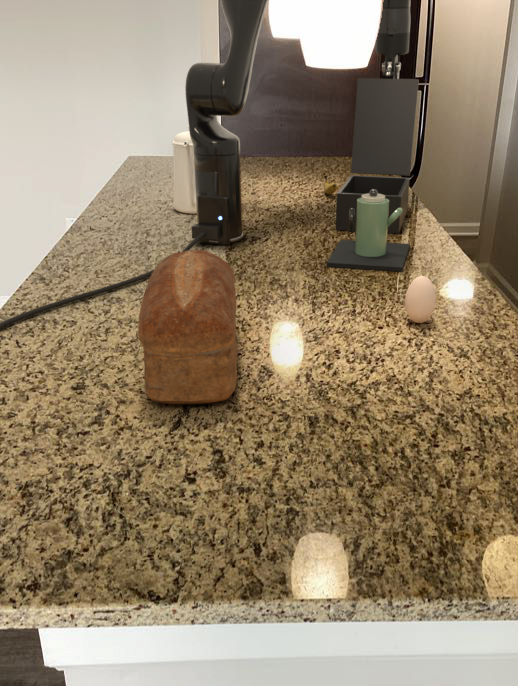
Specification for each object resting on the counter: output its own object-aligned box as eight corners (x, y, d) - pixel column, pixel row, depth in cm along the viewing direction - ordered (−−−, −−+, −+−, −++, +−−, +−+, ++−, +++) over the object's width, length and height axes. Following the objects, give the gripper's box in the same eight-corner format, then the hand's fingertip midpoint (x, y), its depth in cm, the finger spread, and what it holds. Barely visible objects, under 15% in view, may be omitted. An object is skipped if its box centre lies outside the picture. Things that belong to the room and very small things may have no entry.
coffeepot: (165, 223, 175) (158, 133, 166) (180, 197, 197) (175, 117, 188) (213, 223, 175) (209, 134, 166) (224, 197, 197) (221, 117, 188)
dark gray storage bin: (398, 233, 167) (401, 196, 163) (335, 230, 170) (336, 193, 166) (407, 212, 184) (409, 177, 180) (349, 208, 187) (350, 175, 183)
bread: (138, 416, 95) (127, 310, 88) (158, 323, 122) (151, 236, 115) (239, 413, 95) (236, 307, 89) (237, 321, 122) (234, 234, 116)
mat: (401, 271, 144) (402, 267, 144) (326, 266, 147) (326, 262, 146) (409, 247, 158) (409, 243, 157) (340, 243, 161) (340, 239, 160)
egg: (409, 328, 119) (412, 281, 116) (399, 318, 123) (402, 272, 120) (438, 326, 120) (442, 280, 117) (427, 316, 124) (431, 270, 121)
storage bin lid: (418, 79, 175) (418, 80, 176) (357, 78, 177) (358, 78, 178) (409, 175, 180) (409, 175, 180) (350, 172, 182) (351, 173, 183)
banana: (338, 199, 195) (339, 183, 193) (329, 200, 195) (329, 183, 193) (329, 190, 204) (330, 175, 202) (320, 191, 203) (321, 175, 201)
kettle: (401, 250, 154) (405, 187, 148) (398, 258, 148) (402, 194, 143) (350, 246, 156) (352, 184, 150) (345, 255, 150) (347, 191, 145)
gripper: (379, 28, 183) (376, 108, 192) (372, 32, 172) (369, 116, 181) (412, 28, 182) (407, 108, 190) (407, 32, 170) (402, 117, 179)
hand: (389, 112), depth 185 cm, fingers closed
